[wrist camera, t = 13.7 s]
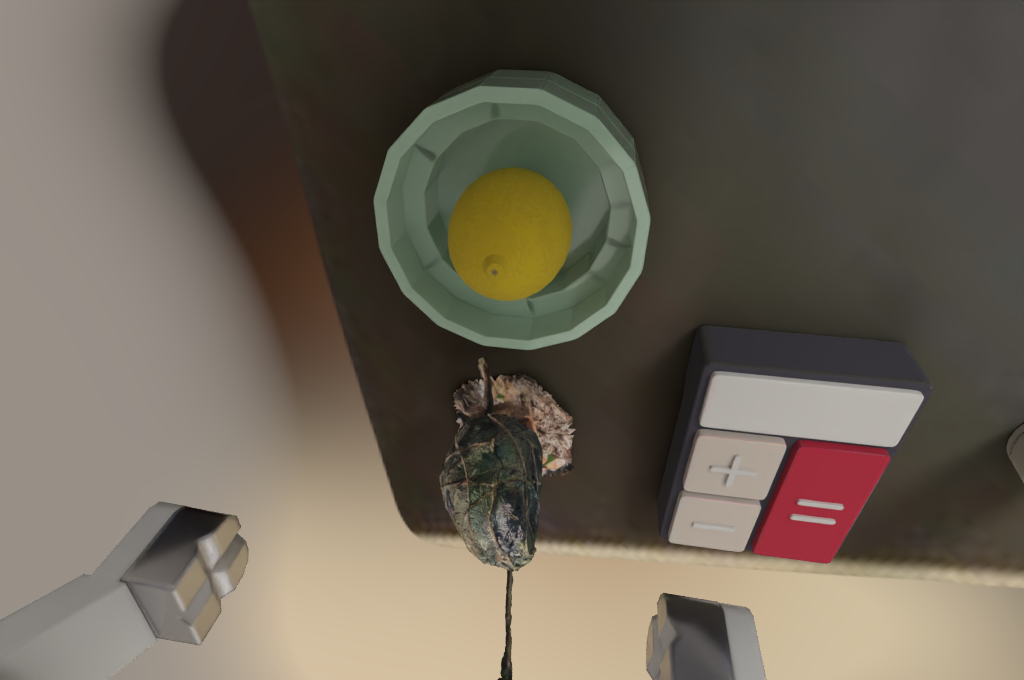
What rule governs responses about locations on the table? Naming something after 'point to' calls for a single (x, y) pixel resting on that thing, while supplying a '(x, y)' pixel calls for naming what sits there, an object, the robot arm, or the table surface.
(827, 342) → the calculator
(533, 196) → the lemon
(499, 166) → the bowl
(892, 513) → the table surface
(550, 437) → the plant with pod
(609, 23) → the table surface
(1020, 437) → the coffee cup
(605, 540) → the table surface
